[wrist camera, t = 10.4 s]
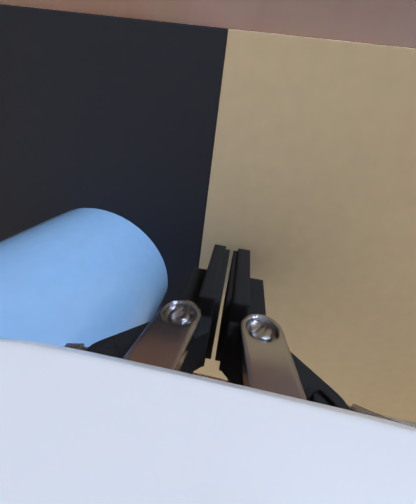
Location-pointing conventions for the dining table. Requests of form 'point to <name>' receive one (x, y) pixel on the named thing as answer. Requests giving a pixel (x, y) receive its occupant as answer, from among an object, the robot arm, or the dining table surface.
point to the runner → (233, 171)
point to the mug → (79, 279)
